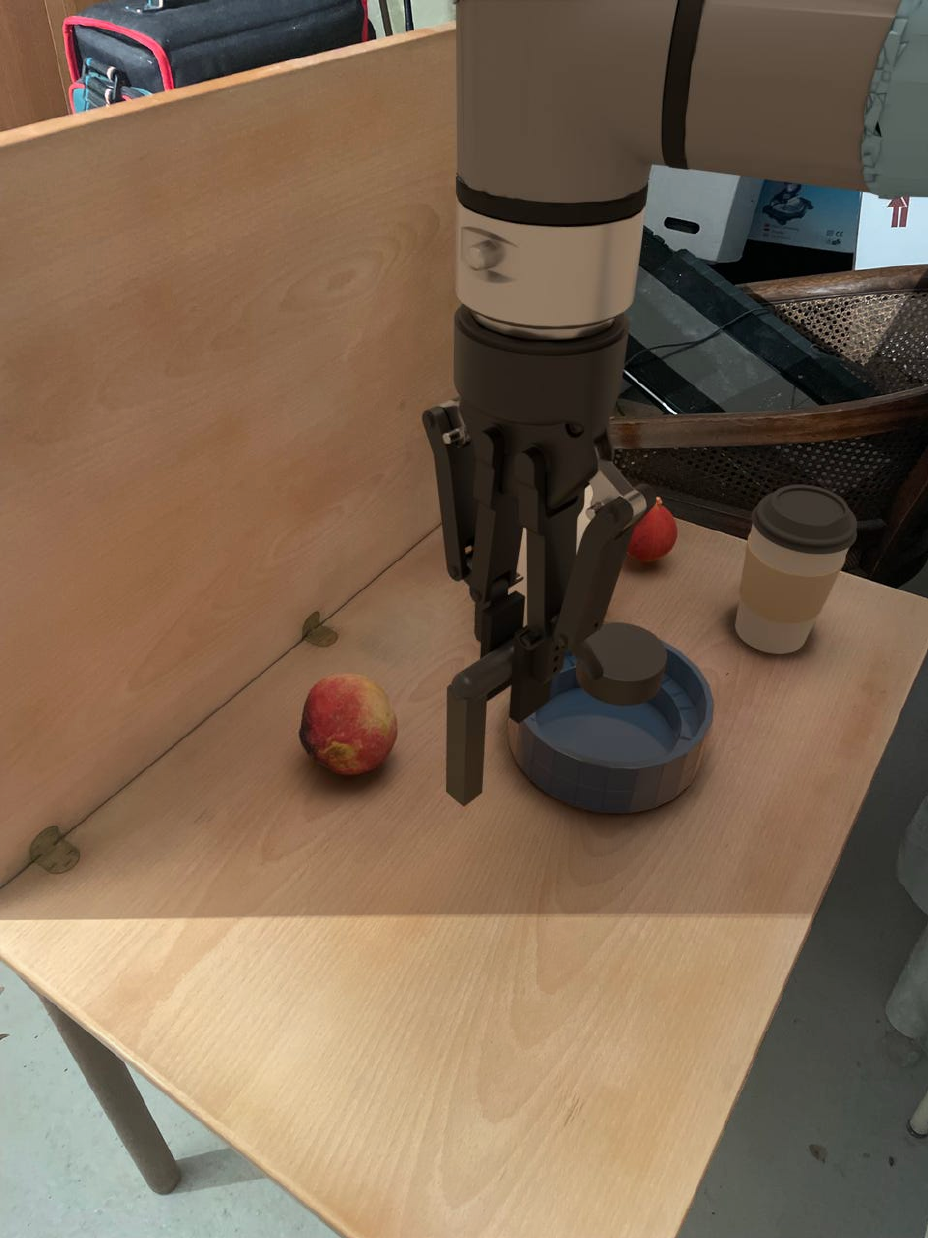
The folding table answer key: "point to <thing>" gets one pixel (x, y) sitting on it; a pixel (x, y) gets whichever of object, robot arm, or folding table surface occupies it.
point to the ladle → (606, 670)
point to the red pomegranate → (653, 535)
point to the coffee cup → (791, 565)
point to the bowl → (617, 741)
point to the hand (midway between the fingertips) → (514, 697)
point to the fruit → (348, 724)
